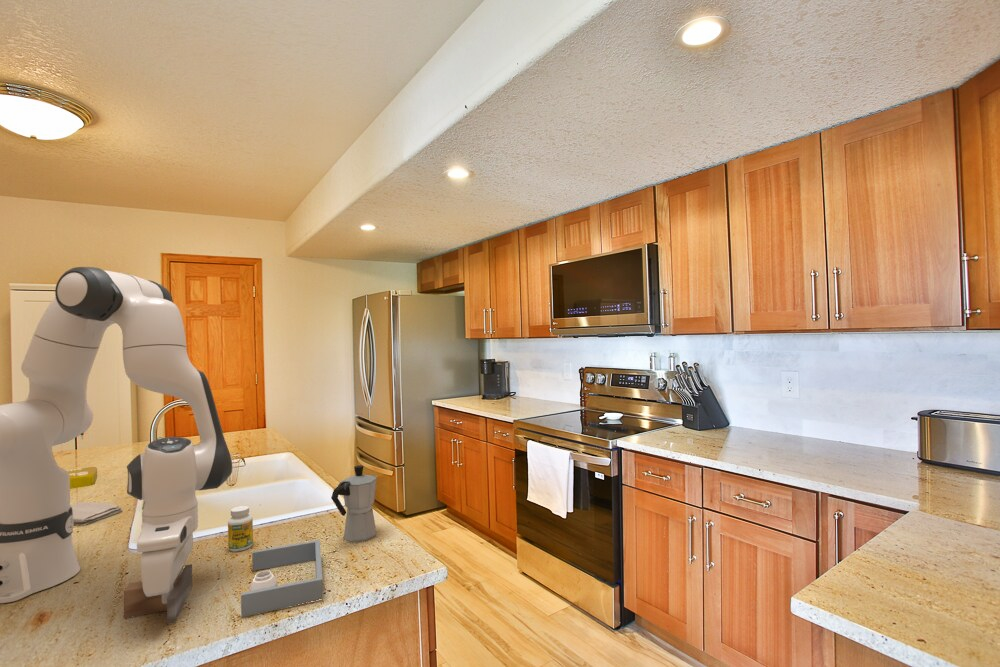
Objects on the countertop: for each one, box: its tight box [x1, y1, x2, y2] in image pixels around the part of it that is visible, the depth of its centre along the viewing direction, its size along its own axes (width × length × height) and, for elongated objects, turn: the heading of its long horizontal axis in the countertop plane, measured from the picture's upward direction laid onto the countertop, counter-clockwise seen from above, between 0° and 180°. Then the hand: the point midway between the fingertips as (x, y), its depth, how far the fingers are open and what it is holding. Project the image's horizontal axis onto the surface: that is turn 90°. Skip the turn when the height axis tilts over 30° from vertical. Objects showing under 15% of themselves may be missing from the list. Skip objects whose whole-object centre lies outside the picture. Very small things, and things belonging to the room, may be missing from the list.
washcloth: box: [70, 501, 123, 527], centre depth 140 cm, size 12×18×3 cm, turn 81°
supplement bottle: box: [227, 505, 254, 553], centre depth 117 cm, size 5×5×10 cm
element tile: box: [65, 466, 98, 490], centre depth 174 cm, size 15×15×5 cm
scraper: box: [122, 563, 193, 625], centre depth 90 cm, size 9×14×5 cm, turn 22°
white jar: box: [249, 570, 278, 591], centre depth 97 cm, size 5×3×5 cm
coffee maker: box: [331, 464, 378, 544], centre depth 121 cm, size 15×9×18 cm, turn 149°
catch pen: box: [240, 539, 324, 618], centre depth 99 cm, size 14×20×4 cm
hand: (171, 595), depth 91 cm, fingers closed on scraper, 3 cm apart
